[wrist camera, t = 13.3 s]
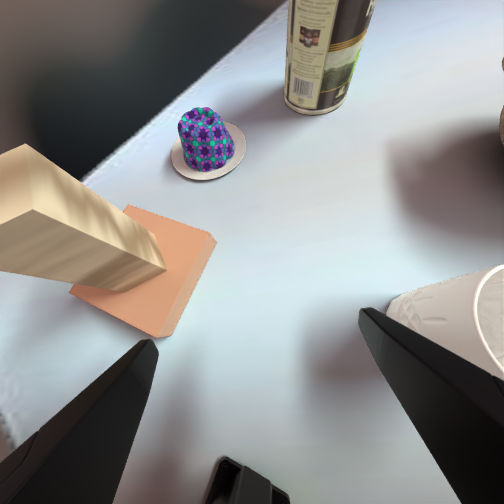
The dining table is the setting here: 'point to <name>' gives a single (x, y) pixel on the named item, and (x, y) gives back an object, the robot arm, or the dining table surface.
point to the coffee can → (323, 51)
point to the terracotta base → (158, 277)
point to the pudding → (206, 145)
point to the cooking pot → (502, 117)
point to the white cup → (460, 316)
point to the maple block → (68, 229)
